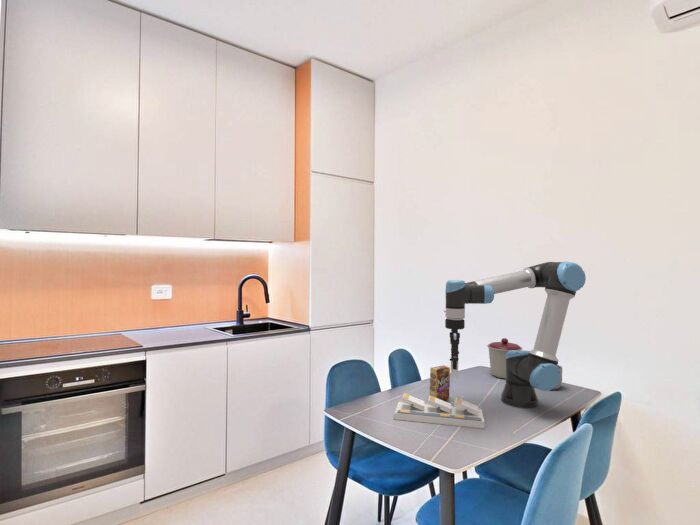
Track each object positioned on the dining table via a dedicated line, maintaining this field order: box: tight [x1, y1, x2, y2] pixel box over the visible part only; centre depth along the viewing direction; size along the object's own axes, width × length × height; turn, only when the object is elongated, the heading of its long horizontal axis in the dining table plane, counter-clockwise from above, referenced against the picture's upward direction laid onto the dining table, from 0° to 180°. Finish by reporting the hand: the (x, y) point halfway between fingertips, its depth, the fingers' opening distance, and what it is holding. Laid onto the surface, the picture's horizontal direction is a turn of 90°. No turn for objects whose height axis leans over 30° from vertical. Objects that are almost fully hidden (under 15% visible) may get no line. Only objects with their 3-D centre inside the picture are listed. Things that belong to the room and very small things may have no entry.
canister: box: [486, 337, 523, 380], centre depth 226 cm, size 18×18×21 cm
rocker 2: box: [427, 395, 452, 413], centre depth 166 cm, size 9×7×2 cm
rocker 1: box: [400, 392, 426, 410], centre depth 169 cm, size 9×7×2 cm
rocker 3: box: [453, 397, 479, 415], centre depth 164 cm, size 9×7×2 cm
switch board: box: [393, 401, 485, 429], centre depth 166 cm, size 34×14×4 cm, turn 77°
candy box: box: [428, 365, 451, 402], centre depth 185 cm, size 9×4×15 cm, turn 123°
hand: (454, 373), depth 165 cm, fingers open, 10 cm apart
